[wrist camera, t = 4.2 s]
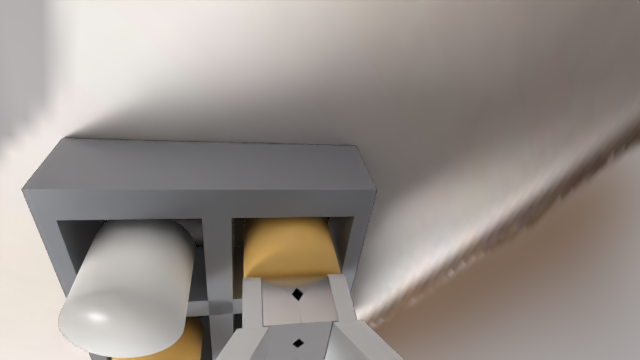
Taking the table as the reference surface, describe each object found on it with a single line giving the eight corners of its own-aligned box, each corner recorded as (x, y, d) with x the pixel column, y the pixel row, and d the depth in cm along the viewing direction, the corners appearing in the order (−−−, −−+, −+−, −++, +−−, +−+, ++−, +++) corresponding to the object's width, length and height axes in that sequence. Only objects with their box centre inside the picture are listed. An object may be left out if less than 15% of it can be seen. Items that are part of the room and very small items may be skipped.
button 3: (83, 213, 10) (42, 291, 8) (192, 211, 11) (179, 285, 9) (105, 281, 12) (74, 362, 10) (198, 277, 13) (188, 352, 11)
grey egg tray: (62, 138, 11) (21, 189, 9) (356, 145, 13) (377, 189, 11) (122, 335, 17) (105, 394, 15) (321, 321, 18) (330, 371, 16)
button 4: (244, 190, 12) (244, 250, 10) (330, 190, 13) (348, 247, 11) (243, 252, 14) (243, 316, 12) (320, 250, 14) (333, 310, 12)
